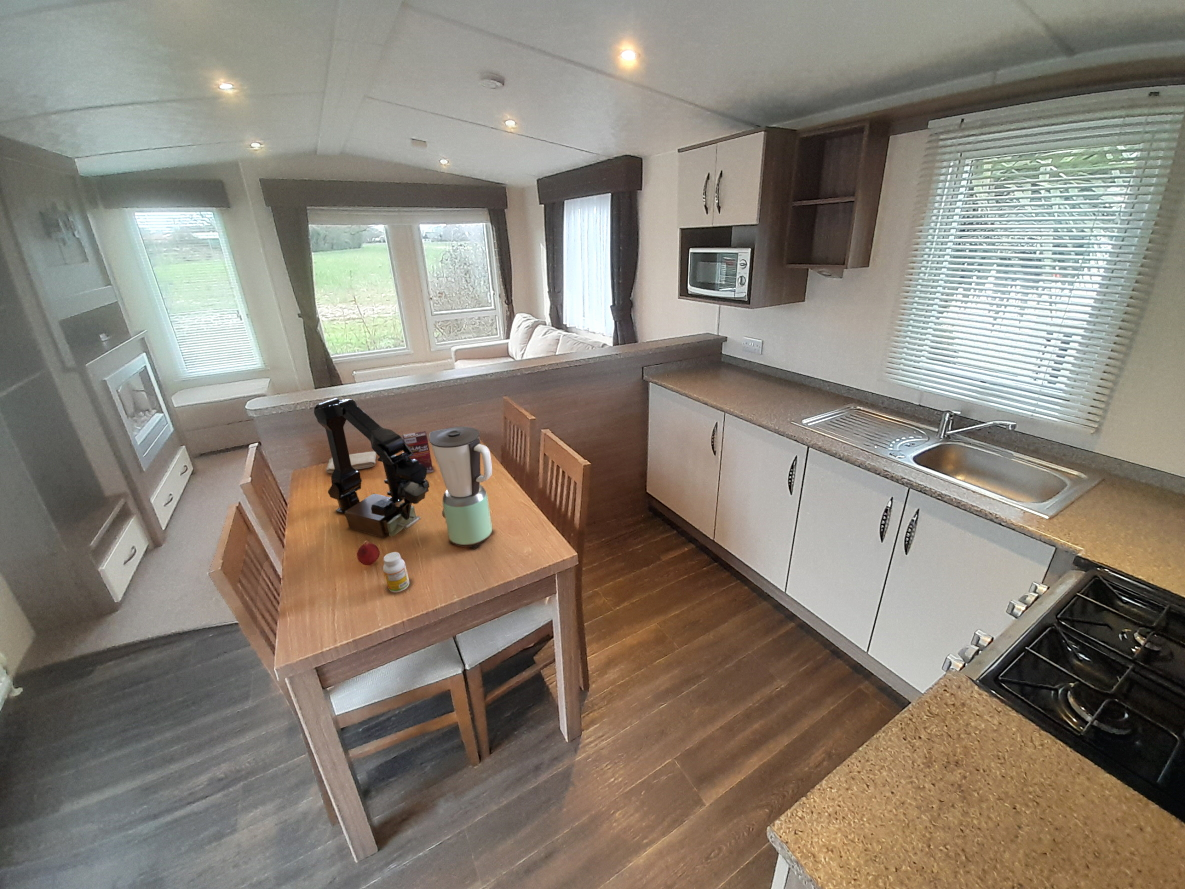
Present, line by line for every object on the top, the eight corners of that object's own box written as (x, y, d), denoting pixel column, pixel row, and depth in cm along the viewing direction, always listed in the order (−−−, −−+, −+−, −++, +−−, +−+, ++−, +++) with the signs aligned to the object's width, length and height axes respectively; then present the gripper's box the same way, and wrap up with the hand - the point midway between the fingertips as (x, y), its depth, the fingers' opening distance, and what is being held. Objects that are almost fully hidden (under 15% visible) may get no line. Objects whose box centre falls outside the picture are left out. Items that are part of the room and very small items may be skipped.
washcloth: (330, 462, 195) (328, 456, 194) (377, 455, 201) (375, 448, 199) (326, 475, 185) (324, 468, 184) (376, 467, 191) (374, 460, 189)
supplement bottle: (391, 579, 129) (384, 550, 125) (412, 578, 130) (405, 549, 125) (385, 593, 124) (377, 564, 120) (406, 592, 125) (399, 562, 121)
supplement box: (410, 476, 182) (402, 439, 176) (409, 471, 186) (401, 434, 180) (434, 471, 185) (426, 434, 179) (432, 466, 189) (425, 430, 183)
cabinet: (410, 517, 157) (406, 501, 154) (383, 538, 147) (379, 520, 144) (377, 509, 162) (373, 493, 159) (349, 528, 152) (344, 511, 149)
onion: (374, 572, 132) (367, 549, 129) (355, 570, 133) (348, 547, 130) (386, 559, 137) (380, 536, 134) (368, 557, 138) (362, 534, 135)
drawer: (427, 520, 153) (424, 508, 151) (403, 539, 144) (400, 527, 142) (385, 510, 160) (382, 498, 158) (360, 528, 151) (356, 515, 149)
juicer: (435, 544, 143) (413, 438, 128) (461, 520, 154) (444, 420, 139) (488, 557, 137) (472, 448, 122) (512, 531, 148) (500, 428, 133)
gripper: (394, 495, 131) (405, 541, 138) (438, 465, 146) (447, 508, 153) (364, 488, 135) (376, 533, 142) (410, 460, 150) (419, 502, 157)
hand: (406, 519), depth 148 cm, fingers closed
